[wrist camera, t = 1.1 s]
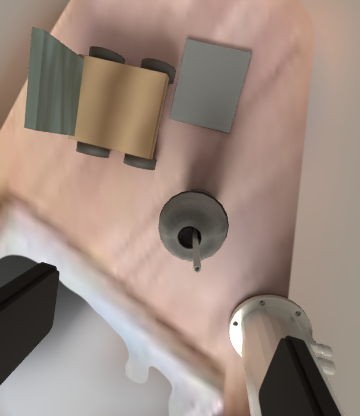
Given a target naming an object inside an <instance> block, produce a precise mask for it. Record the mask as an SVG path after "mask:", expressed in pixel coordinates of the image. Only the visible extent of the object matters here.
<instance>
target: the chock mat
mask: <svg viewBox="0 0 360 416" xmlns="http://www.w3.org/2000/svg"><path fill="white" fill-rule="evenodd" d="M251 55H252V53H251V52H247V51H242V50H237V49H232V48H228V47H223V46H218V45H214V44H209V43H204V42H200V41H195V40H190V39H186V44H185V49H184V53H183V58H182V62H181V67H180V72H179V76H178V81H177V85H176V90H175V94H174V99H173V104H172V108H171V113H170V117H169V119H172V120H176V121H180V122H185V123H189V124H193V125H197V126H201V127H205V128H210V129H214V130H218V131H222V132H226V133H230V130H231V126H232V123H233V119H234V115H235V112H236V108H237V105H238V101H239V97H240V94H241V90H242V87H243V83H244V80H245V76H246V72H247V69H248V65H249V62H250V58H251Z"/></svg>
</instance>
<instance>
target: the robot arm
mask: <svg viewBox="0 0 360 416" xmlns="http://www.w3.org/2000/svg"><path fill="white" fill-rule="evenodd" d="M58 280H59V271H58V270H57V268H56V266H54V265H50V264H47V263H44V262H41V263H39V264H37V265H36V266H34V267H33V268H31V269H30V270H28V271H26V272H25V273H23V274H22V275H20V276H18V277H17V278H15V279H14V280H12V281H10V282H9V283H7V284H6V285H4V286H2V287H1V288H0V385H1V384H2V383H3V382H4V381H5V380H6V378H7V377H8V376H9V375H10V374H11V373H12V372H13V371H14V370H15V369H16V367H17V366H18V365H19V364H20V363H21V362H22V361H23V360H24V359H25V358H26V357H27V356H28V355H29V353H30V352H31V351H32V350H33V349H34V348H35V347H36V346H37V345H38V344H39V343H40V341H41V340H42V339H43V338H44V337H45V336H46V335H47V334H48V333H49V331H50V330H51V328H52V325H53V319H54V312H55V304H56V296H57V289H58ZM229 336H230V340H231V343H232V345H233V347H234V348H235V350H236V351H237V352H238V353H239V355H240V356H242V358H243V365H244V372H245V379H246V386H247V392H248V399H249V406H250V413H251V416H347V415H346V413H345V411H344V409H343V407H342V406H341V404H340V402H339V400H338V398H337V396H336V394H335V392H334V390H333V388H332V386H331V384H330V382H329V380H328V378H327V376H326V375H325V373H326V374H329V375H334V373H335V365H334V362H333V361H331V360H328V359H325V358H321V357H316V355H315V353H320V354H321V355H325V356H328V357H331V356H332V348H331V347H329V346H326V345H323V344H318V343H316V342H315V341H314V340H313V338H312V327H311V323H310V321H309V319H308V317H307V316H306V314H305V312H304V311H303V310H302V309H301V308H300V306H298V305H297V304H296V303H294V302H293V301H291V300H289V299H287V298H285V297H281V296H278V295H259V296H255V297H252V298H250V299H247V300H246V301H244V302H243V303H241V304H240V305H239V306H238V307H237V308H236V309H235V311H234V312H233V313H232V316H231V318H230V321H229Z"/></svg>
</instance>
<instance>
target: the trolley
mask: <svg viewBox="0 0 360 416" xmlns="http://www.w3.org/2000/svg"><path fill="white" fill-rule="evenodd" d="M124 63H125V59H124V58H123V57H122V56H120V55H119V54H117V53H115V52H113V51H110V50H108V49H105V48H101V47H95V46H92V47H90V51H89V56H86V55H81V54H79V55H77V54H76V53H74V52H73V51H72V50H70V49H69V48H68V47H66V46H65V45H64V44H62V43H61V42H60V41H59V40H57V39H56V38H55V37H53V36H52V35H51V34H49V33H48V32H46V31H45V30H43V29H38V28H34V27H33V28H32V37H31V49H30V62H29V75H28V87H27V100H26V113H25V125H24V128H28V129H32V130H37V131H43V132H50V133H57V134H64V135H69V136H68V139H72V140H76V141H78V142H77V149H76V151H77V152H80V153H84V154H87V155H92V156H97V157H104V158H109V153H110V149H111V150H115V151H119V152H123V153H125V158H124V163H125V164H127V165H130V166H134V167H138V168H142V169H148V170H155V166H156V161H157V160H156V159H154V158H153V153H154V149H155V144H156V139H157V134H158V130H159V125H160V120H161V115H162V110H163V106H164V101H165V96H166V91H167V87H168V84H173V82H174V77H175V72H176V70H175V68H174V67H172V66H171V65H169V64H167V63H165V62H162V61H159V60H155V59H148V58H147V59H143V60H142V64H141V68H139V67H134V66H130V65H126V64H124Z"/></svg>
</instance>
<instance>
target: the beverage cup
mask: <svg viewBox="0 0 360 416" xmlns="http://www.w3.org/2000/svg"><path fill="white" fill-rule="evenodd" d="M228 227H229V224H228V217H227V214H226V212H225V210H224V208H223V206H222V204H221V203H220V202H219V201H217V200H216V199H215V198H214V197H213V196H212V195H211V194H210V193H209V192H207V191H205V190H202V189H196V190H192V191H186V192H181V193H179V194H177V195H175V196H173V197H172V198H171V199H170V200H169V201H168V202H167V203H166V204H165V205H164V207H163V209H162V211H161V213H160V219H159V233H160V238H161V240H162V242H163V244H164V246H165V247H166V249H167V250H168V251H169V252H170V253H171V254H172V255H173V256H175V257H177V258H179V259H181V260H186V261H191V262H193V263H194V271H195V272H200V271H201V263H200V261H201V260H204V259H206V258H208V257H211V256H212V255H213V254H215V253H216V252H217V251H218V250H219V249H220V247H221V246H222V244H223V242H224V240H225V238H226V237H227V232H228Z"/></svg>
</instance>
